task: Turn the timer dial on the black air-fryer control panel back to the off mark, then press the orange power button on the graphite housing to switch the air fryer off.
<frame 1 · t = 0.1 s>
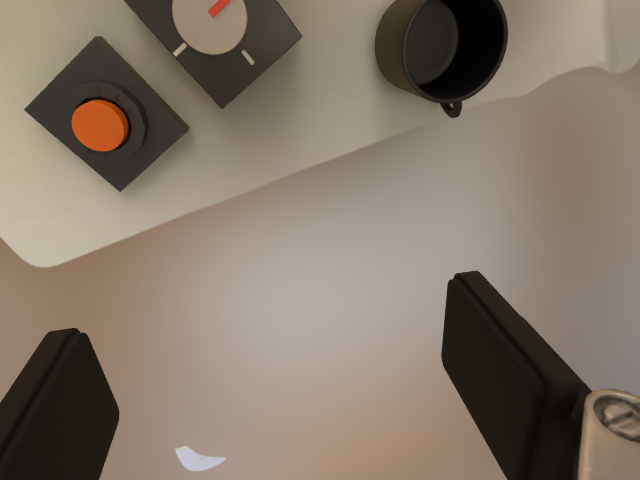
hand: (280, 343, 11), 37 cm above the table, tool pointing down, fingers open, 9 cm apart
power button: (101, 125, 39), point 4 cm above the table, slide at 0.2 cm
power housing: (113, 117, 42), on the table
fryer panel: (217, 17, 39), on the table
mug: (420, 54, 44), on the table
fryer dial: (212, 15, 34), point 6 cm above the table, hinge at 90.0°
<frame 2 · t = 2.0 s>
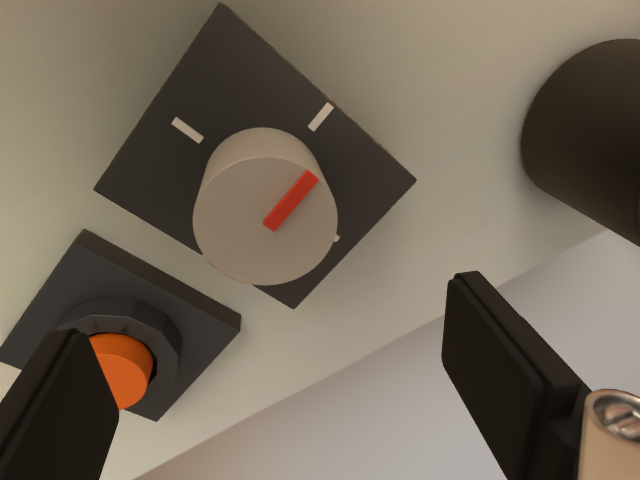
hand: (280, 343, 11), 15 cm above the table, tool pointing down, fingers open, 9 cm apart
power button: (109, 372, 24), point 4 cm above the table, slide at 0.2 cm
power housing: (127, 327, 27), on the table
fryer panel: (261, 160, 24), on the table
mug: (593, 139, 26), on the table
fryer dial: (265, 204, 18), point 6 cm above the table, hinge at 90.0°
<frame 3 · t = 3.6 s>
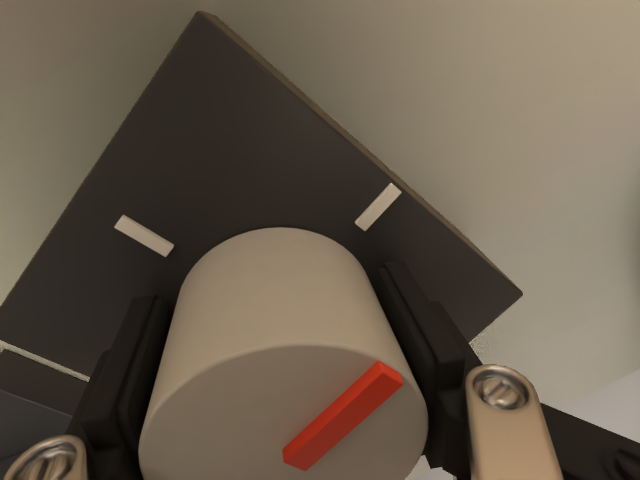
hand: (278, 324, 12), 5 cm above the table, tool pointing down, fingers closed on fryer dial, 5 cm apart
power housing: (80, 467, 19), on the table
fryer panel: (272, 247, 16), on the table
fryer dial: (283, 375, 10), point 6 cm above the table, hinge at 89.9°, touching gripper
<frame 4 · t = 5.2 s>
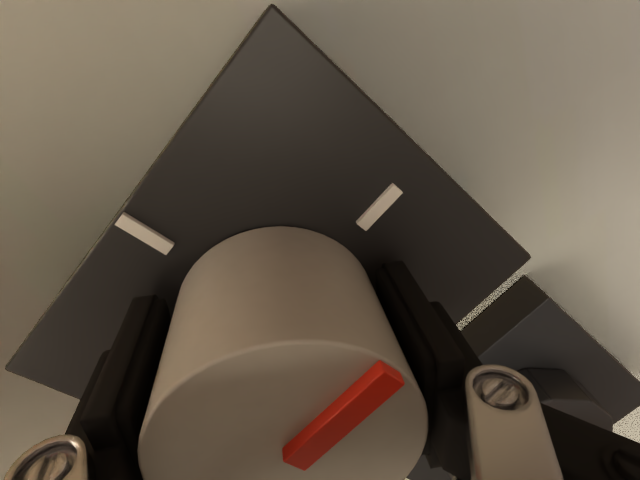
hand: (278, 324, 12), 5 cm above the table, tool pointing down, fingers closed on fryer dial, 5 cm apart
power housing: (493, 397, 21), on the table
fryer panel: (272, 247, 16), on the table
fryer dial: (283, 374, 10), point 6 cm above the table, hinge at -0.2°, touching gripper
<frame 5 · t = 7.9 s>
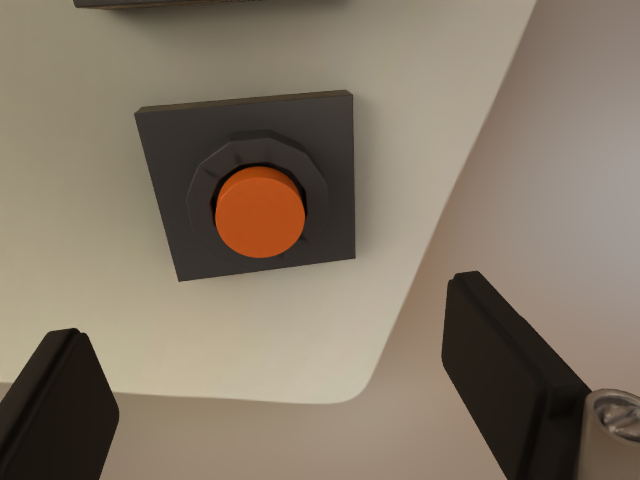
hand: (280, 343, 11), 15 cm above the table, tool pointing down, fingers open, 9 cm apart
power button: (260, 212, 21), point 4 cm above the table, slide at 0.2 cm
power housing: (258, 184, 25), on the table
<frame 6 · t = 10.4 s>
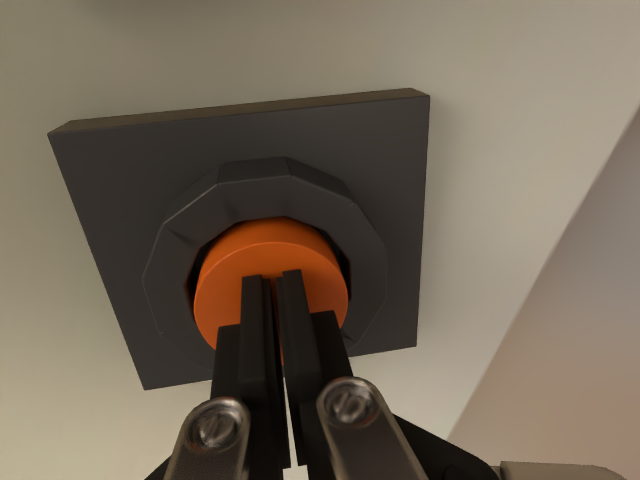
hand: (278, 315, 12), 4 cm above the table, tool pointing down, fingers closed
power button: (271, 292, 13), point 4 cm above the table, slide at -0.3 cm, touching gripper
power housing: (267, 239, 16), on the table
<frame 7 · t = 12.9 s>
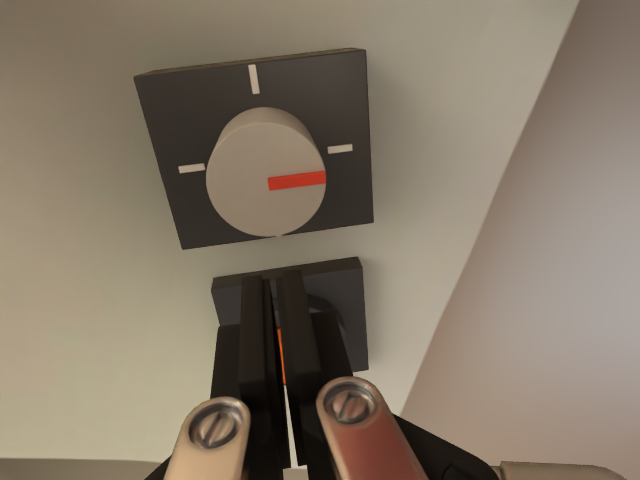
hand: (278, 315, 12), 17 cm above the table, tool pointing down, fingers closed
power button: (298, 353, 30), point 4 cm above the table, slide at 0.2 cm
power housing: (294, 319, 34), on the table
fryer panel: (266, 141, 27), on the table
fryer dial: (267, 170, 21), point 6 cm above the table, hinge at -0.4°
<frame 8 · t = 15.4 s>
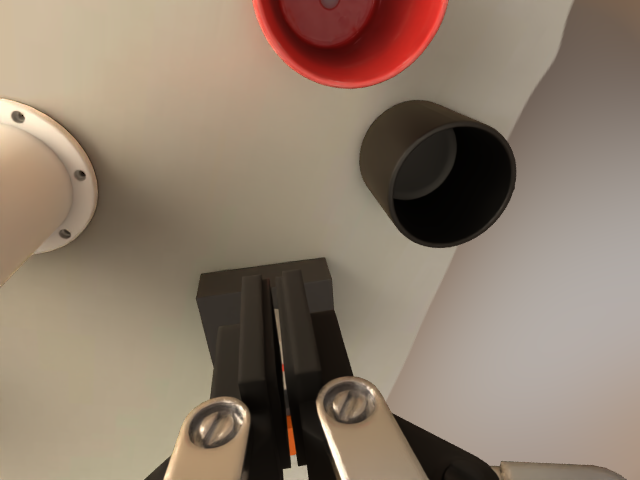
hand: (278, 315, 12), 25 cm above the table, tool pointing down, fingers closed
power button: (288, 435, 45), point 4 cm above the table, slide at 0.2 cm
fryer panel: (270, 307, 42), on the table
mug: (422, 156, 37), on the table
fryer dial: (273, 350, 37), point 6 cm above the table, hinge at -0.4°
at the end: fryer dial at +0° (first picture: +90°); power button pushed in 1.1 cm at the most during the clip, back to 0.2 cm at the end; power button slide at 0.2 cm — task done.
